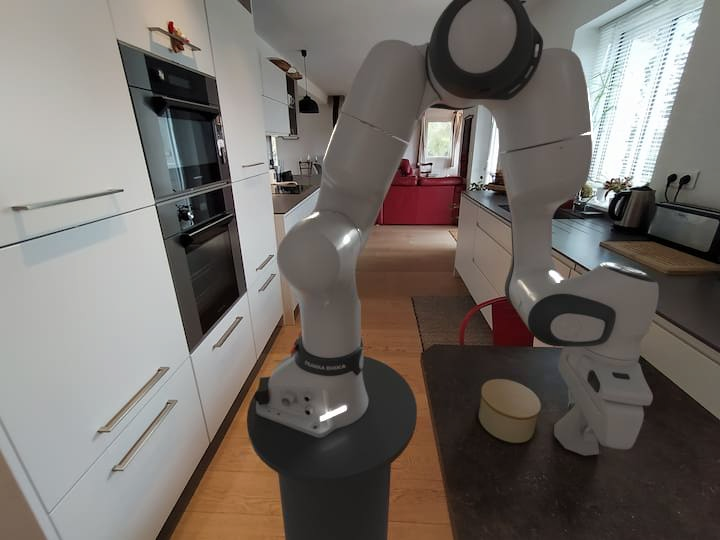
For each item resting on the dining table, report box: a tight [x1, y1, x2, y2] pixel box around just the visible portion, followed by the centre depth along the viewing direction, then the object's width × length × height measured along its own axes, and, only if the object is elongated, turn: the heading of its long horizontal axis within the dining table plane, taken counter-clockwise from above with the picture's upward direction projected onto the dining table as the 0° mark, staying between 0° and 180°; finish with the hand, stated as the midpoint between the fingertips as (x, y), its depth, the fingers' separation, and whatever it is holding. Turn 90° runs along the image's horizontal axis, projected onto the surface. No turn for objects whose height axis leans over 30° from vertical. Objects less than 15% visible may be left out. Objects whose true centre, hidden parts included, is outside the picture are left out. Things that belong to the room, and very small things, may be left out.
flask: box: [553, 402, 600, 456], centre depth 58 cm, size 7×7×10 cm
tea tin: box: [478, 378, 542, 444], centre depth 63 cm, size 10×10×6 cm
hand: (580, 424), depth 58 cm, fingers closed on flask, 5 cm apart
